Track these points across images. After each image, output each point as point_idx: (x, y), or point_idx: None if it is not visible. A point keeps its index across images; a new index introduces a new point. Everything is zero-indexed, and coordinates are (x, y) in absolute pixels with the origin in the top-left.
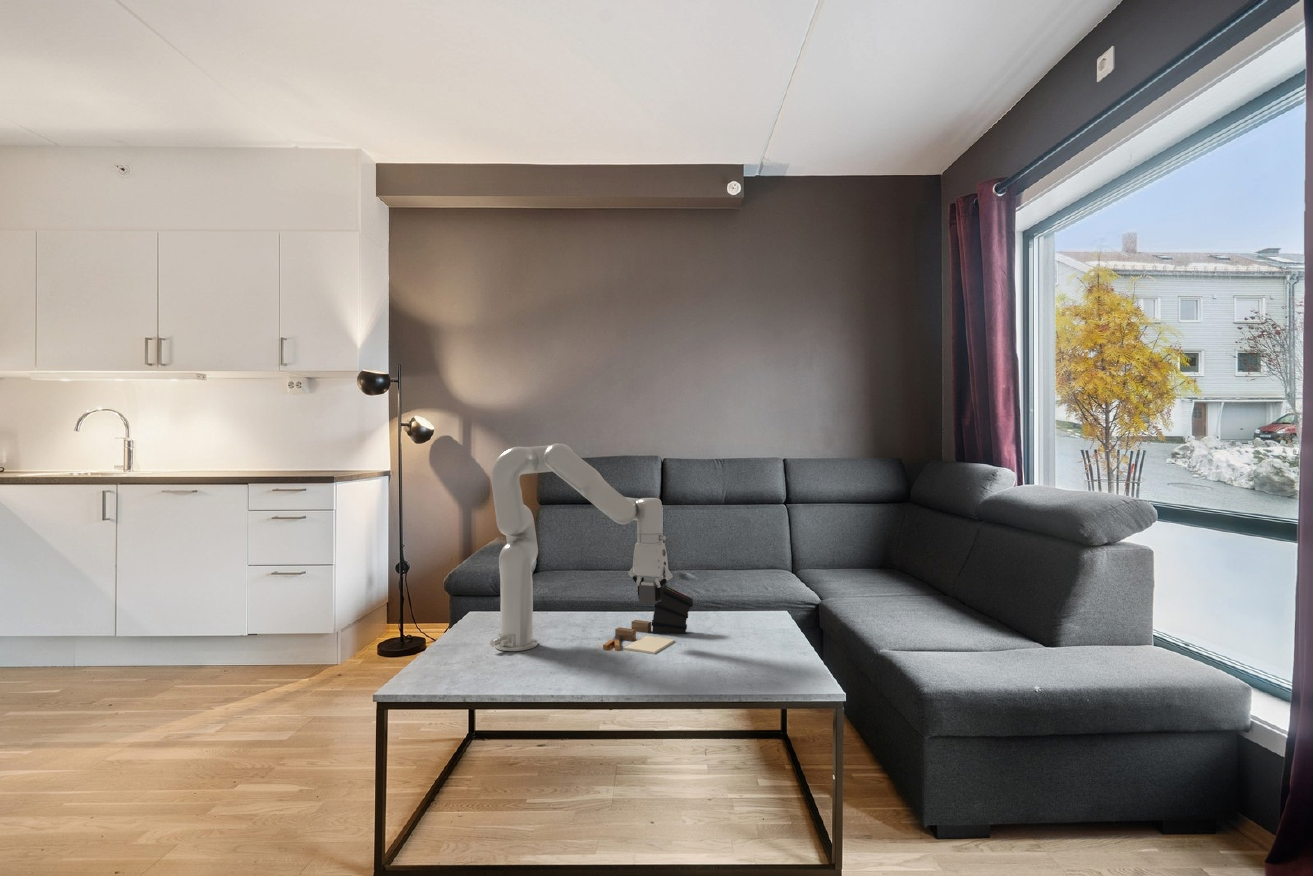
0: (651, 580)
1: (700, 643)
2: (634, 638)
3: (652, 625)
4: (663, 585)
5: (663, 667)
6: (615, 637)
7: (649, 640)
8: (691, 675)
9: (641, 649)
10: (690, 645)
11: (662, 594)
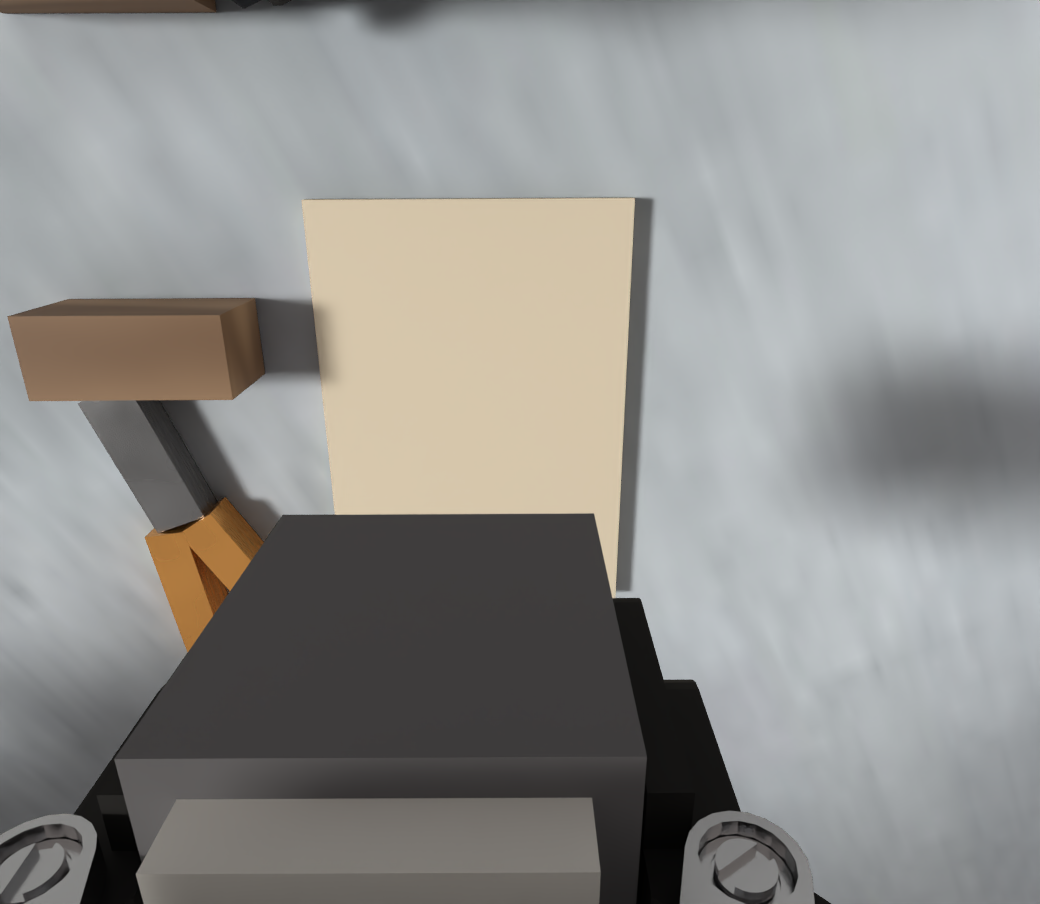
0: (314, 894)
1: (893, 130)
2: (254, 330)
3: (251, 1)
4: (792, 884)
5: (781, 776)
6: (125, 452)
7: (423, 339)
8: (988, 818)
9: None
10: (815, 243)
11: (703, 717)
